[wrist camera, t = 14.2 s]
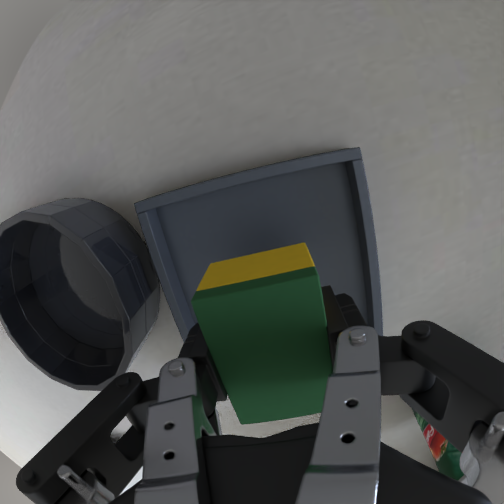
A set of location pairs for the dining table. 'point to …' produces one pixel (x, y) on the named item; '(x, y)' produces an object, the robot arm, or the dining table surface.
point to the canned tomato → (442, 451)
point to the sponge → (267, 332)
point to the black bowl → (76, 291)
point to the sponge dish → (268, 228)
